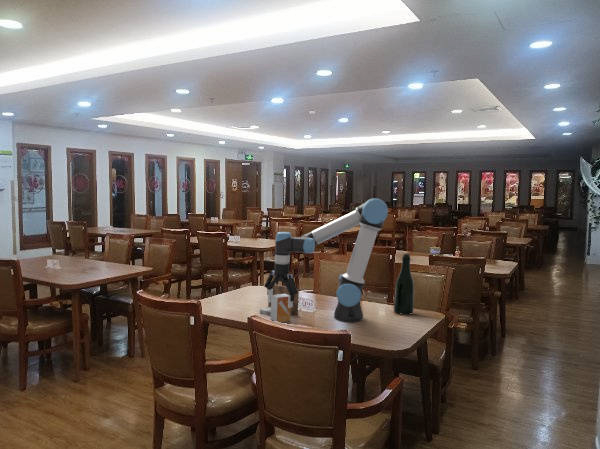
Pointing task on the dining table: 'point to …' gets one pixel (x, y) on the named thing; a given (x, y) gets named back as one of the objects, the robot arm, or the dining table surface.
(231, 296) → the dining table surface
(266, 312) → the wall board
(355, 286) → the robot arm
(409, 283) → the beer bottle
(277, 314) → the small box
